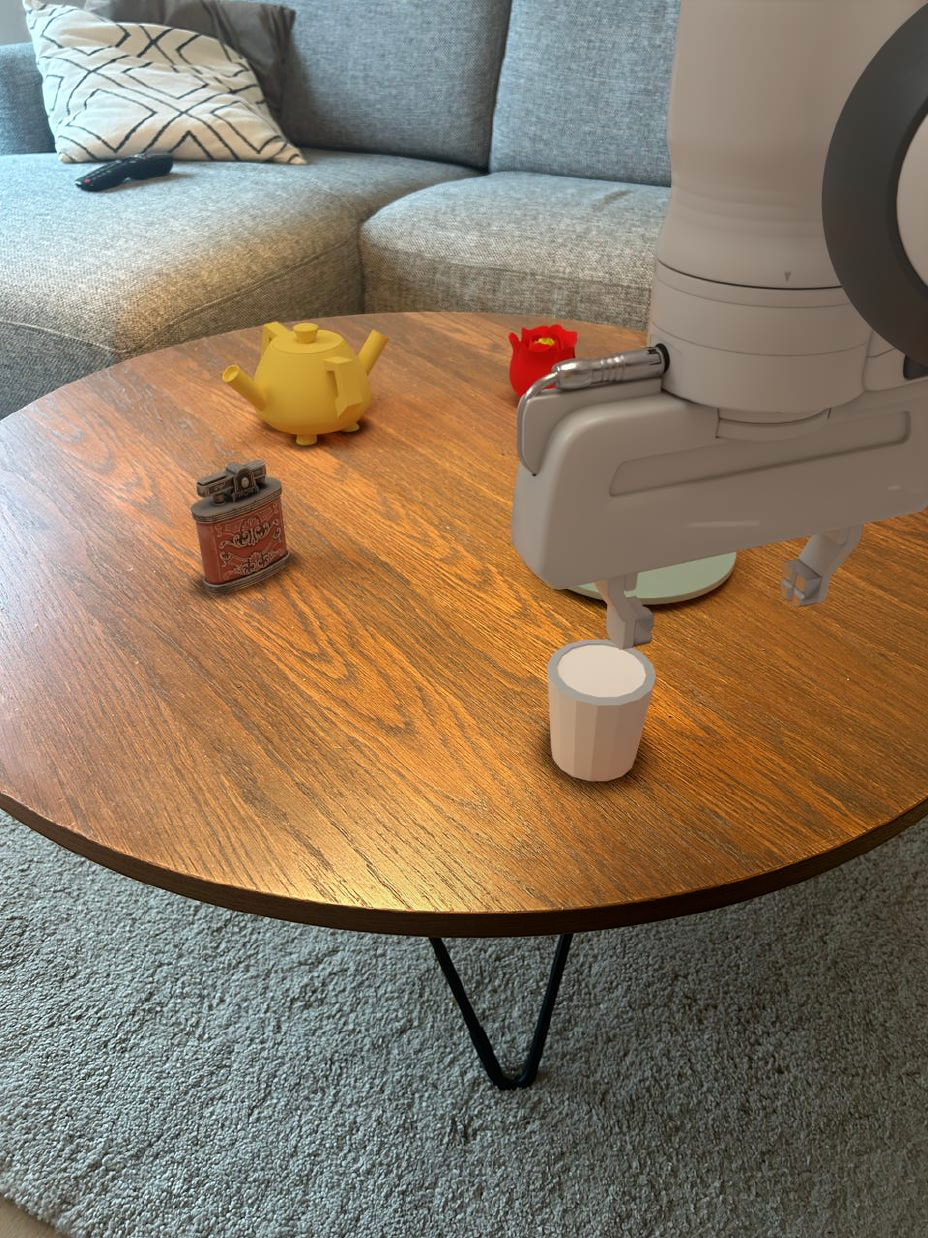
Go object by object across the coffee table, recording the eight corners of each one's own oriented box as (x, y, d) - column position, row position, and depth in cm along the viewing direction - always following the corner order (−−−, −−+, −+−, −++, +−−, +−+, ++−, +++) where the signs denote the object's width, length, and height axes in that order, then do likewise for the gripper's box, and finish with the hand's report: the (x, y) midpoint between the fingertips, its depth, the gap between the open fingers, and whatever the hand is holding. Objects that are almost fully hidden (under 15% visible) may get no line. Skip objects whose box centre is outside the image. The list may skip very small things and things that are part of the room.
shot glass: (661, 741, 68) (673, 659, 64) (617, 803, 63) (628, 718, 59) (571, 706, 71) (577, 625, 67) (523, 763, 66) (527, 679, 62)
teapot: (276, 480, 99) (263, 372, 93) (194, 423, 111) (177, 323, 105) (436, 428, 110) (434, 327, 103) (346, 380, 121) (339, 287, 115)
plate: (776, 589, 84) (779, 574, 83) (579, 631, 79) (580, 615, 78) (669, 493, 97) (671, 479, 97) (496, 523, 93) (496, 509, 92)
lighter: (275, 549, 89) (262, 445, 83) (298, 563, 87) (286, 458, 81) (196, 584, 84) (176, 476, 78) (218, 600, 82) (200, 490, 76)
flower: (569, 418, 112) (574, 348, 108) (501, 412, 113) (502, 343, 109) (577, 391, 118) (581, 324, 114) (512, 386, 120) (514, 319, 115)
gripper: (553, 397, 35) (542, 709, 42) (1021, 323, 40) (935, 610, 48) (487, 341, 40) (488, 629, 47) (912, 282, 45) (850, 548, 53)
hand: (716, 619), depth 48 cm, fingers open, 8 cm apart
